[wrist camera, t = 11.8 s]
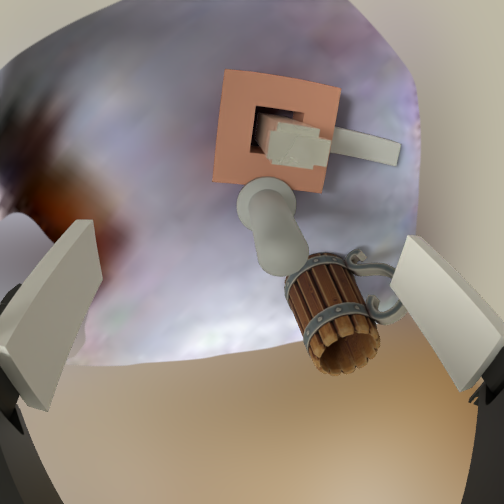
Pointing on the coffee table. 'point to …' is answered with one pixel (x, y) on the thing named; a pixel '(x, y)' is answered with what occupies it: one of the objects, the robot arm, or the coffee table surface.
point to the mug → (338, 311)
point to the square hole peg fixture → (278, 176)
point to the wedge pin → (291, 142)
